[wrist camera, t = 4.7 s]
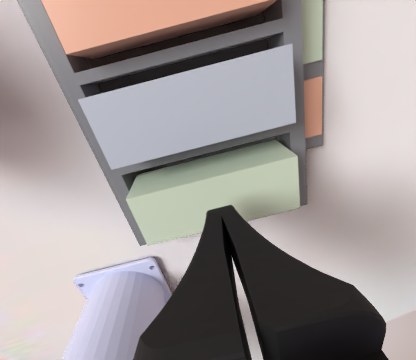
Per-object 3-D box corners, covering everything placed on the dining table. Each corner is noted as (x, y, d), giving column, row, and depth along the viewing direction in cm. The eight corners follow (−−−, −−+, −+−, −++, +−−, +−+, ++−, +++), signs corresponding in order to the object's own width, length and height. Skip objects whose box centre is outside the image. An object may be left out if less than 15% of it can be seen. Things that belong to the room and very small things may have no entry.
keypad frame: (292, 188, 19) (307, 204, 17) (145, 224, 19) (139, 245, 17) (272, -118, 11) (296, -170, 9) (20, -49, 11) (-24, -81, 9)
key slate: (272, 112, 14) (295, 122, 11) (126, 149, 15) (111, 169, 12) (266, 50, 13) (292, 43, 10) (102, 93, 13) (77, 99, 10)
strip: (319, 143, 17) (324, 146, 17) (294, 149, 17) (298, 152, 17) (319, -39, 12) (326, -45, 12) (285, -30, 12) (290, -35, 12)
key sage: (279, 183, 17) (300, 207, 14) (154, 214, 17) (147, 245, 14) (275, 139, 15) (297, 155, 12) (137, 174, 15) (125, 199, 12)
